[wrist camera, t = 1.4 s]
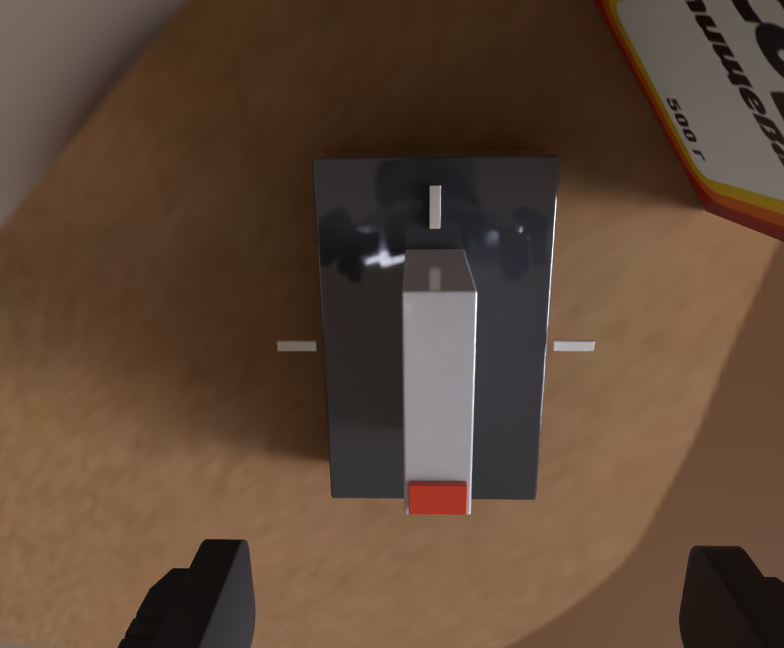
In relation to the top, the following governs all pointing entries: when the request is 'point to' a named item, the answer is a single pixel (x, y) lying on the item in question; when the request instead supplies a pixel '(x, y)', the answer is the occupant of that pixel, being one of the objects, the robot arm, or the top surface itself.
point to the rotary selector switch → (384, 304)
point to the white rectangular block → (438, 380)
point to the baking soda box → (714, 96)
